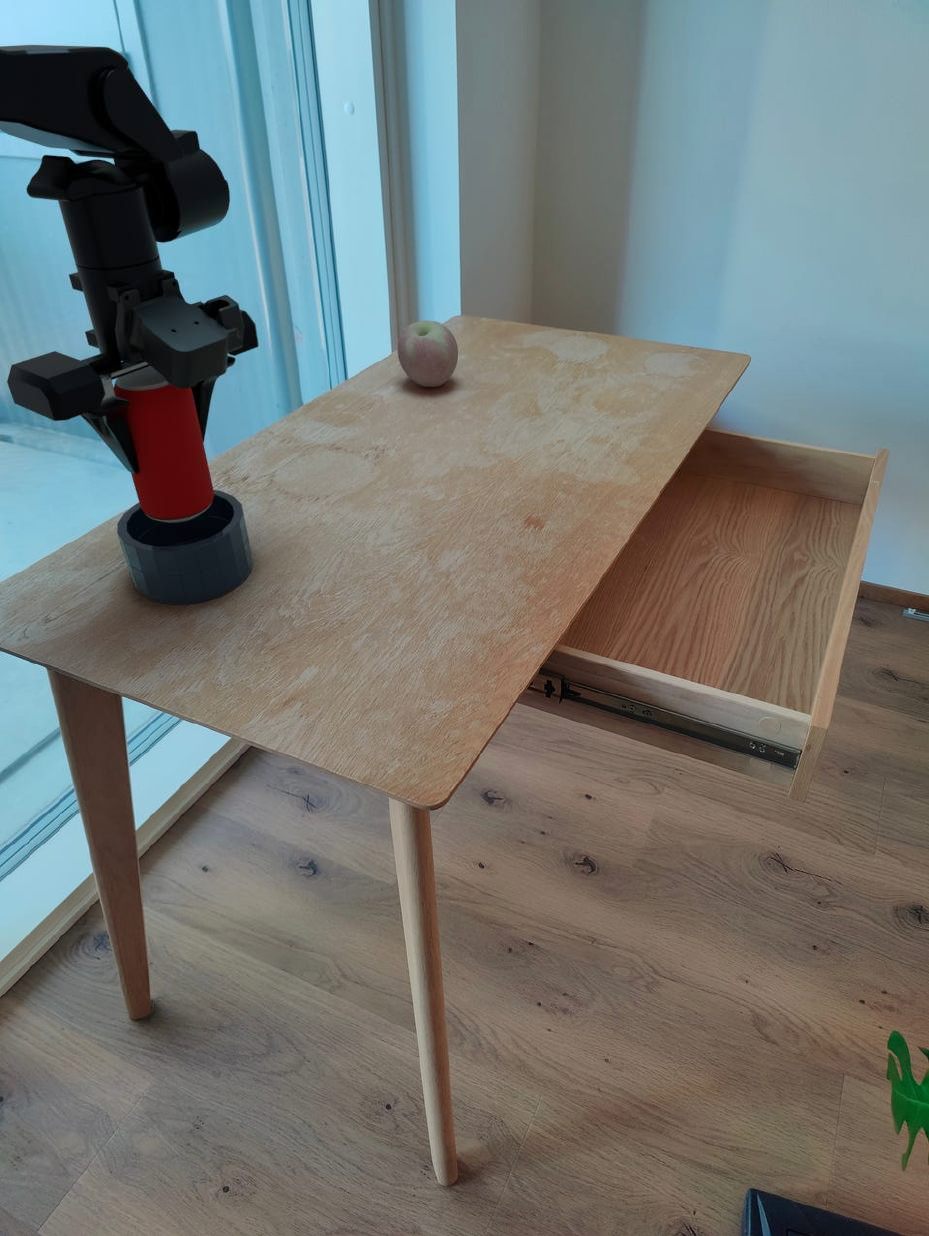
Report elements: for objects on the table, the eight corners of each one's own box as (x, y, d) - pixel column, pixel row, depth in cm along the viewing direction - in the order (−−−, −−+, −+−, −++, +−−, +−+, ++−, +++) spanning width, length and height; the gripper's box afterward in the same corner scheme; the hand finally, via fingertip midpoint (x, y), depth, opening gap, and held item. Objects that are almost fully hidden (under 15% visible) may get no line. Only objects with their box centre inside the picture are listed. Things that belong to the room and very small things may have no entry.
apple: (388, 382, 110) (384, 321, 105) (435, 368, 114) (433, 309, 109) (421, 401, 105) (419, 338, 100) (470, 387, 109) (470, 325, 104)
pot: (184, 619, 70) (170, 566, 67) (108, 577, 75) (91, 525, 72) (277, 562, 77) (267, 510, 74) (201, 526, 82) (190, 476, 79)
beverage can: (132, 528, 70) (92, 390, 62) (157, 491, 75) (123, 360, 67) (204, 529, 69) (172, 391, 62) (225, 493, 74) (198, 361, 67)
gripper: (65, 314, 50) (130, 537, 59) (292, 247, 61) (316, 442, 71) (-33, 282, 55) (42, 491, 64) (194, 226, 67) (229, 410, 76)
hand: (166, 457), depth 69 cm, fingers closed on beverage can, 6 cm apart
